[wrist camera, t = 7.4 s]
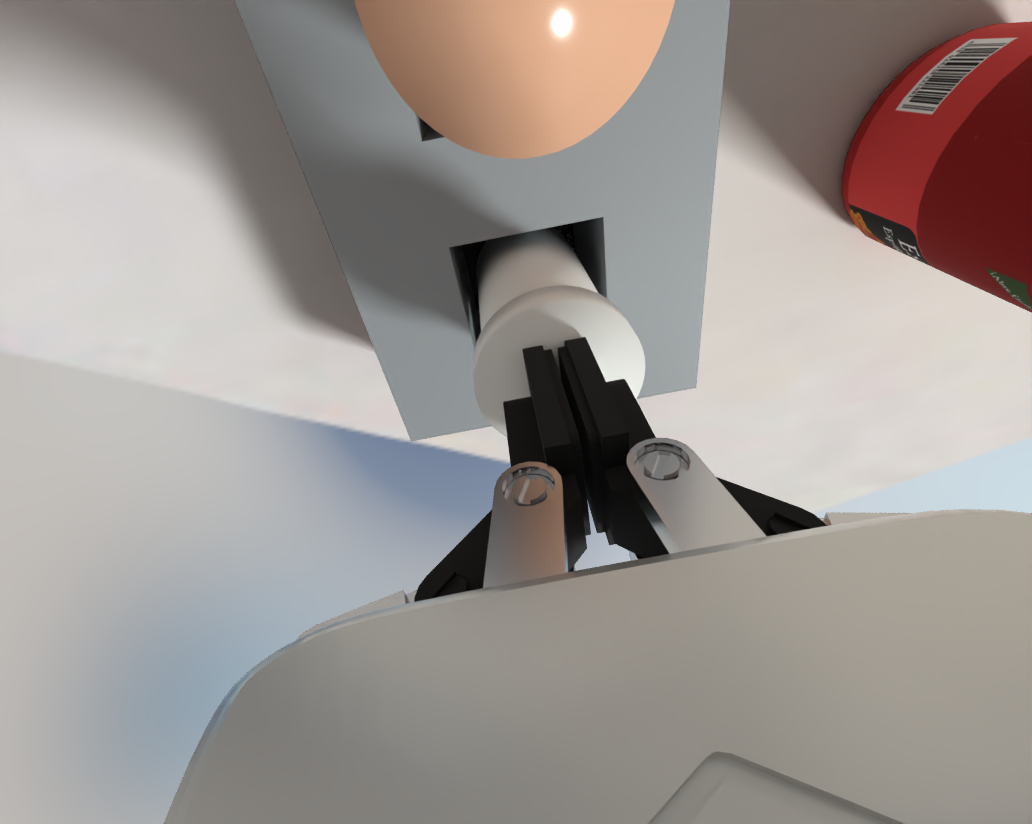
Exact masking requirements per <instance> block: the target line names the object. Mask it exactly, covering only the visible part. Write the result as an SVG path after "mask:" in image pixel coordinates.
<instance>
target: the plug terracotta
mask: <svg viewBox="0 0 1032 824" xmlns="http://www.w3.org/2000/svg"><path fill="white" fill-rule="evenodd" d="M354 1H355V5H356V8H357V11H358V14H359V17H360V20H361V23H362V26H363V29H364V32H365V35H366V37H367V39H368V41H369V43H370V46H371V48H372V50H373V52H374V55H375V57H376V59H377V61H378V62H379V64H380V66H381V67H382V69H383V71H384V73H385V74H386V76H387V78H388V80H389V81H390V82H391V84H392V85H393V86H394V88H395V89H396V91H397V92H398V93H399V95H400V96H401V97H402V99H403V100H404V101H405V102H406V103H407V104H408V105H409V107H410V108H411V109H412V110H413V111H414V112H415V113H416V114H417V115H418V116H419V117H420V118H421V119H422V120H423V121H425V122H426V123H427V124H428V125H429V126H430V127H432V128H433V129H434V130H435V131H437V132H438V133H440V134H441V135H443V136H444V137H446V138H447V139H449V140H450V141H452V142H454V143H456V144H458V145H460V146H462V147H464V148H467V149H469V150H472V151H475V152H478V153H481V154H484V155H487V156H493V157H499V158H510V159H525V158H533V157H540V156H544V155H548V154H551V153H555V152H558V151H560V150H563V149H565V148H567V147H570V146H572V145H574V144H576V143H578V142H579V141H581V140H583V139H584V138H586V137H588V136H589V135H591V134H592V133H594V132H595V131H596V130H597V129H599V128H600V127H601V126H602V125H604V124H605V123H606V122H607V121H608V120H609V119H610V118H611V117H612V116H613V115H614V114H615V113H616V112H617V111H618V110H619V109H620V108H621V107H622V106H623V105H624V104H625V102H626V101H627V100H628V99H629V97H630V96H631V95H632V93H633V92H634V91H635V90H636V88H637V87H638V85H639V84H640V82H641V80H642V79H643V77H644V76H645V74H646V72H647V71H648V69H649V67H650V65H651V63H652V61H653V59H654V57H655V55H656V53H657V51H658V49H659V47H660V45H661V42H662V39H663V37H664V34H665V32H666V29H667V26H668V24H669V21H670V17H671V13H672V10H673V6H674V3H675V0H354Z"/></svg>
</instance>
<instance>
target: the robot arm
mask: <svg viewBox="0 0 1032 824" xmlns="http://www.w3.org/2000/svg"><path fill="white" fill-rule="evenodd" d="M522 351H523V356H524V362H525V368H526V373H527V379H528V384H529V390H530V395H531V396H530V397H525V398H520V399H514V400H509V401H504V402H503V407H504V415H505V422H506V430H507V438H508V446H509V454H510V462H511V467H510V468H509V469H507V470H506V471H505V472H504V473H502V475H501V476H500V477H499V479H498V480H497V483H496V486H495V490H494V498H493V507H492V510H491V511H490V512H489V513H488V514H487V515H486V516H485V517H484V518H483V519H482V521H480V523H478V524H477V525H476V527H475V528H474V529H472V531H471V532H470V533H469V534H468V535H467V536H466V537H465V538H464V539H463V540H462V541H461V542H460V543H459V544H458V545H457V546H456V547H455V548H454V549H453V550H452V551H451V552H450V553H449V554H448V555H447V556H446V557H445V558H444V559H443V560H442V561H441V562H440V563H439V564H438V565H437V566H436V567H435V568H434V569H433V570H432V571H431V572H430V573H429V574H428V575H427V576H426V578H425V579H424V580H423V581H422V583H421V584H420V585H419V587H418V590H416V591H413V592H411V593H408V594H405V592H404V590H402V591H399V592H397V593H394V594H392V595H389V596H387V597H384V598H382V599H379V600H377V601H374V602H372V603H369V604H367V605H364V606H362V607H359V608H357V609H354V610H352V611H349V612H347V613H344V614H342V615H339V616H337V617H335V618H332V619H330V620H327V621H325V622H322V623H320V624H317V625H315V626H313V627H312V628H310V629H308V630H306V631H305V632H304V633H303V634H302V635H300V636H299V638H298V639H296V640H295V641H294V642H292V643H290V644H288V645H286V646H285V647H283V648H281V649H279V650H277V651H276V652H274V653H273V654H271V655H270V656H268V657H267V658H265V659H264V660H262V661H261V662H260V663H258V664H257V665H256V666H255V667H253V668H252V669H251V670H249V671H248V672H247V673H246V674H245V675H244V676H243V677H242V678H241V679H240V680H239V681H238V682H237V683H235V685H234V686H233V687H232V688H231V690H230V691H229V692H228V694H227V695H226V696H225V697H224V699H223V700H222V702H221V703H220V705H219V706H218V708H217V710H216V711H215V713H214V715H213V716H212V718H211V720H210V722H209V723H208V725H207V727H206V729H205V731H204V733H203V735H202V737H201V739H200V741H199V744H198V746H197V748H196V750H195V752H194V754H193V756H192V758H191V760H190V762H189V765H188V767H187V769H186V771H185V774H184V776H183V778H182V781H181V783H180V785H179V788H178V790H177V792H176V794H175V797H174V799H173V802H172V804H171V807H170V809H169V812H168V815H167V817H166V819H165V822H164V824H1032V513H1024V512H1014V511H1005V510H973V509H972V510H971V509H958V510H942V511H927V512H920V513H826V515H825V518H818V517H817V516H815V515H814V514H812V513H810V512H808V511H806V510H804V509H802V508H799V507H797V506H794V505H791V504H788V503H786V502H783V501H780V500H778V499H775V498H772V497H769V496H767V495H764V494H761V493H758V492H756V491H753V490H750V489H747V488H745V487H742V486H739V485H737V484H734V483H731V482H728V481H726V480H723V479H720V478H717V477H715V475H714V474H713V473H712V472H711V471H710V470H709V468H708V467H707V466H706V465H705V464H704V463H703V462H702V460H701V459H700V458H699V457H698V456H697V455H696V453H695V452H694V451H693V450H692V449H691V448H689V447H688V446H687V445H686V444H683V443H681V442H679V441H677V440H673V439H668V438H656V437H655V435H654V433H653V432H652V430H651V428H650V426H649V424H648V422H647V420H646V418H645V416H644V414H643V412H642V410H641V408H640V406H639V405H638V403H637V401H636V399H635V397H634V395H633V393H632V391H631V389H630V387H629V385H628V383H627V382H626V380H625V379H619V380H614V381H609V382H606V381H605V379H604V376H603V374H602V372H601V370H600V368H599V365H598V363H597V361H596V359H595V357H594V354H593V352H592V350H591V348H590V346H589V343H588V341H587V339H586V337H581V338H576V339H571V340H566V341H564V346H563V347H558V358H559V366H560V374H561V377H560V374H559V371H558V368H557V365H556V362H555V358H554V355H553V352H552V349H548V350H544V349H543V345H540V346H535V347H530V348H524V349H522ZM587 500H588V503H589V507H590V510H591V514H592V517H593V520H594V524H595V527H596V531H597V533H602V532H605V533H606V536H607V539H608V543H609V545H613V544H617V545H619V546H621V547H623V548H625V549H627V550H629V555H630V559H631V561H627V562H622V563H616V564H611V565H605V566H600V567H595V568H589V569H584V570H578V571H575V563H576V562H577V561H578V559H579V558H580V557H581V555H582V554H583V553H584V551H585V550H586V549H587V544H586V537H585V535H590V534H591V531H590V522H589V512H588V503H587Z"/></svg>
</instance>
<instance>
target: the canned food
mask: <svg viewBox="0 0 1032 824" xmlns="http://www.w3.org/2000/svg"><path fill="white" fill-rule="evenodd" d="M842 196H843V201H844V206H845V208H846V210H847V212H848V214H849V216H850V218H851V219H852V221H853V222H854V224H855V225H856V226H857V227H858V228H859V229H860V230H861V231H862V232H863V233H864V234H865V235H866V236H867V237H869V238H871V239H873V240H875V241H877V242H880V243H882V244H884V245H886V246H888V247H890V248H893V249H895V250H897V251H899V252H901V253H903V254H906V255H908V256H910V257H912V258H914V259H916V260H919V261H921V262H923V263H925V264H927V265H929V266H932V267H934V268H936V269H938V270H940V271H943V272H945V273H947V274H949V275H951V276H953V277H956V278H958V279H960V280H962V281H964V282H966V283H969V284H971V285H973V286H975V287H977V288H979V289H982V290H984V291H986V292H988V293H990V294H992V295H995V296H997V297H999V298H1001V299H1003V300H1005V301H1008V302H1010V303H1012V304H1014V305H1016V306H1019V307H1021V308H1023V309H1025V310H1027V311H1029V312H1032V22H1020V23H1003V24H992V25H989V26H985V27H982V28H978V29H975V30H972V31H969V32H967V33H965V34H962V35H960V36H958V37H955V38H953V39H951V40H949V41H947V42H945V43H943V44H941V45H939V46H937V47H935V48H933V49H931V50H930V51H929V52H927V53H926V54H924V55H923V56H921V57H920V58H919V59H917V60H916V61H914V62H913V63H912V64H911V65H910V66H908V67H907V68H906V69H905V70H904V71H903V72H902V73H901V74H900V75H899V76H897V77H896V78H895V79H894V80H893V81H892V83H891V84H890V85H889V86H888V87H887V88H886V89H885V91H884V92H883V93H882V94H881V95H880V96H879V98H878V99H877V100H876V102H875V103H874V105H873V106H872V107H871V109H870V110H869V112H868V113H867V115H866V116H865V118H864V119H863V121H862V123H861V125H860V127H859V129H858V131H857V133H856V135H855V136H854V138H853V141H852V144H851V146H850V149H849V152H848V154H847V157H846V161H845V166H844V171H843V175H842Z"/></svg>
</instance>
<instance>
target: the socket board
mask: <svg viewBox="0 0 1032 824" xmlns="http://www.w3.org/2000/svg"><path fill="white" fill-rule="evenodd" d="M234 1H235V4H236V6H237V9H238V11H239V14H240V16H241V19H242V21H243V24H244V26H245V29H246V31H247V34H248V36H249V39H250V41H251V44H252V46H253V49H254V51H255V54H256V56H257V59H258V61H259V64H260V66H261V69H262V71H263V74H264V76H265V79H266V81H267V83H268V86H269V88H270V91H271V93H272V96H273V98H274V101H275V103H276V106H277V108H278V111H279V113H280V116H281V118H282V121H283V123H284V126H285V128H286V131H287V133H288V136H289V138H290V141H291V143H292V146H293V148H294V151H295V153H296V156H297V158H298V161H299V163H300V166H301V168H302V171H303V173H304V176H305V178H306V181H307V183H308V186H309V188H310V190H311V193H312V195H313V198H314V200H315V203H316V205H317V208H318V210H319V213H320V215H321V218H322V220H323V223H324V225H325V228H326V230H327V233H328V235H329V238H330V240H331V243H332V245H333V248H334V250H335V253H336V255H337V258H338V260H339V263H340V265H341V268H342V270H343V273H344V275H345V278H346V280H347V283H348V285H349V288H350V290H351V292H352V295H353V297H354V300H355V302H356V305H357V307H358V310H359V312H360V315H361V317H362V320H363V322H364V325H365V327H366V330H367V332H368V335H369V337H370V340H371V342H372V345H373V347H374V350H375V352H376V355H377V357H378V360H379V362H380V365H381V367H382V370H383V372H384V375H385V377H386V380H387V382H388V385H389V387H390V390H391V392H392V395H393V397H394V399H395V402H396V404H397V407H398V409H399V412H400V414H401V417H402V419H403V422H404V424H405V427H406V429H407V432H408V434H409V437H410V439H411V441H415V440H420V439H426V438H431V437H436V436H442V435H447V434H452V433H458V432H463V431H468V430H474V429H479V428H484V427H489V426H492V425H491V424H490V423H489V422H488V421H487V420H486V418H485V417H484V416H483V414H482V412H481V410H480V408H479V406H478V403H477V401H476V397H475V392H474V376H473V356H474V349H475V346H476V342H477V340H478V337H479V335H480V333H481V324H480V311H479V309H477V308H476V304H475V300H474V296H473V291H472V287H471V283H470V278H469V274H468V270H467V266H466V261H465V257H464V253H463V248H462V245H464V244H469V243H474V242H479V241H484V240H489V239H494V238H499V237H504V236H509V235H515V234H520V233H525V232H530V231H535V230H540V229H545V228H550V227H555V226H560V225H565V224H570V223H573V233H574V244H575V254H576V255H577V257H578V259H579V260H580V262H581V264H582V266H583V267H584V269H585V271H586V273H587V274H588V276H589V278H590V280H591V281H592V283H593V285H594V286H595V288H596V290H597V292H598V293H599V294H601V295H602V296H604V297H606V298H607V299H609V300H610V301H611V302H612V303H614V304H615V305H616V306H617V307H618V308H619V309H620V311H621V312H622V313H623V314H624V316H625V318H626V319H627V321H628V322H629V324H630V326H631V327H632V329H633V330H634V332H635V334H636V335H637V337H638V338H639V340H640V343H641V345H642V348H643V352H644V356H645V376H644V380H643V385H642V387H641V390H640V393H639V395H638V397H637V399H638V398H644V397H649V396H654V395H659V394H665V393H670V392H675V391H681V390H686V389H691V388H696V383H697V372H698V360H699V349H700V338H701V327H702V315H703V304H704V293H705V281H706V270H707V259H708V247H709V236H710V225H711V214H712V202H713V191H714V180H715V168H716V157H717V146H718V134H719V123H720V112H721V100H722V89H723V78H724V67H725V55H726V44H727V33H728V21H729V10H730V0H675V3H674V6H673V10H672V13H671V17H670V21H669V24H668V26H667V29H666V32H665V34H664V37H663V39H662V42H661V45H660V47H659V49H658V51H657V53H656V55H655V57H654V59H653V61H652V63H651V65H650V67H649V69H648V71H647V72H646V74H645V76H644V77H643V79H642V80H641V82H640V84H639V85H638V87H637V88H636V90H635V91H634V92H633V93H632V95H631V96H630V97H629V99H628V100H627V101H626V102H625V104H624V105H623V106H622V107H621V108H620V109H619V110H618V111H617V112H616V113H615V114H614V115H613V116H612V117H611V118H610V119H609V120H608V121H607V122H606V123H605V124H604V125H602V126H601V127H600V128H599V129H597V130H596V131H595V132H594V133H592V134H591V135H589V136H588V137H586V138H584V139H583V140H581V141H579V142H578V143H576V144H574V145H572V146H570V147H567V148H565V149H563V150H560V151H558V152H555V153H551V154H548V155H544V156H540V157H533V158H525V159H510V158H499V157H493V156H487V155H484V154H481V153H478V152H475V151H472V150H469V149H467V148H464V147H462V146H460V145H458V144H456V143H454V142H452V141H450V140H449V139H447V138H446V137H444V136H443V135H441V134H440V133H438V132H437V131H435V130H434V129H433V128H432V127H430V126H429V125H428V124H427V123H426V122H425V121H423V120H422V119H421V118H420V117H419V116H418V115H417V114H416V113H415V112H414V111H413V110H412V109H411V108H410V107H409V105H408V104H407V103H406V102H405V101H404V100H403V99H402V97H401V96H400V95H399V93H398V92H397V91H396V89H395V88H394V86H393V85H392V84H391V82H390V81H389V80H388V78H387V76H386V74H385V73H384V71H383V69H382V67H381V66H380V64H379V62H378V61H377V59H376V57H375V55H374V52H373V50H372V48H371V46H370V43H369V41H368V39H367V37H366V35H365V32H364V29H363V26H362V23H361V20H360V17H359V14H358V11H357V8H356V5H355V1H354V0H234Z"/></svg>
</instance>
